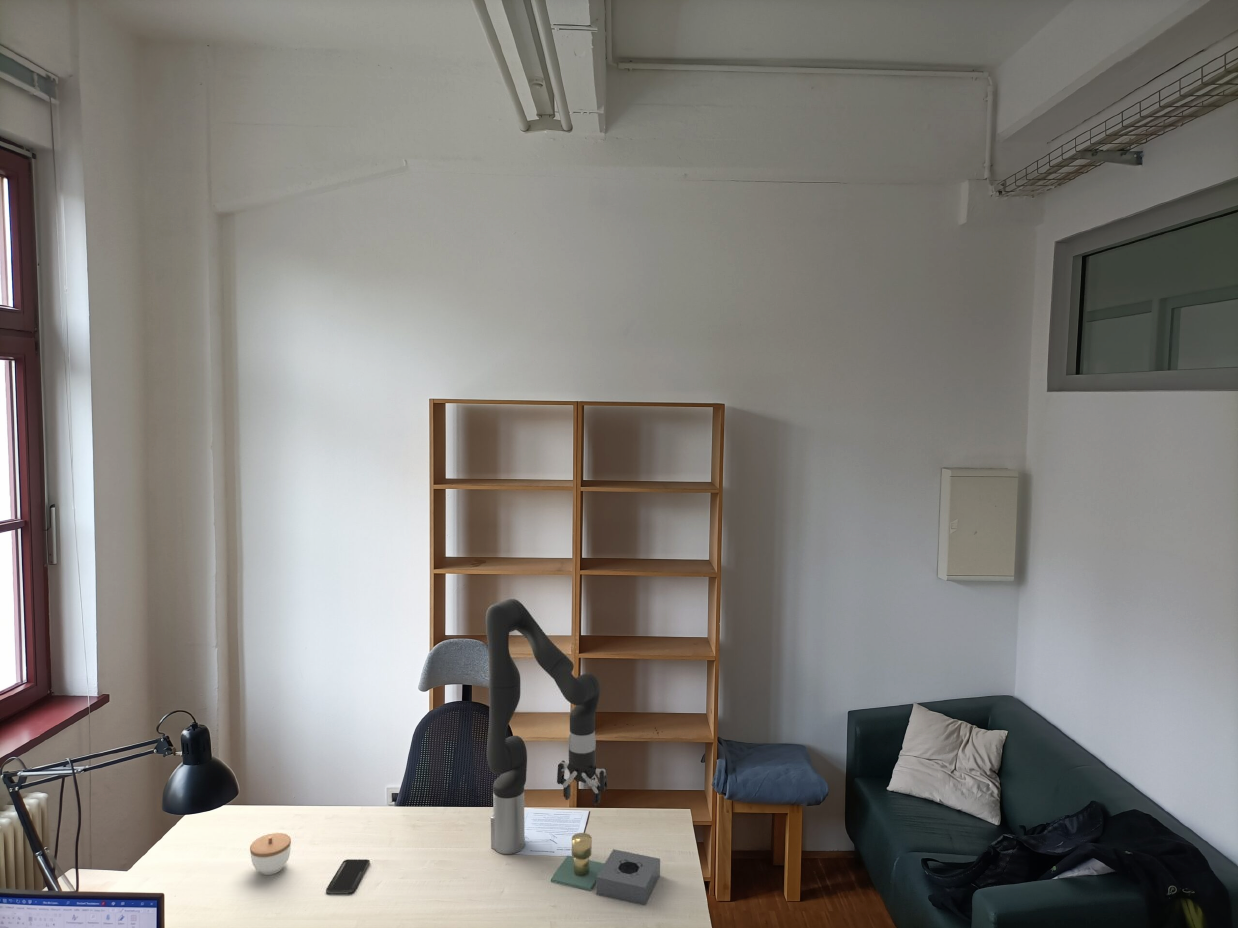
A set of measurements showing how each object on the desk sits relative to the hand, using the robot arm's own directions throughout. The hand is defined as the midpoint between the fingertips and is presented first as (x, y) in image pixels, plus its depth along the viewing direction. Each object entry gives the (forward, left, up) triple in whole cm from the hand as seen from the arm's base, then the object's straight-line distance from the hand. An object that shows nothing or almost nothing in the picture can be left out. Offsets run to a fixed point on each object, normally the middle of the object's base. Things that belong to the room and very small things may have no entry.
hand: (581, 801), depth 223 cm
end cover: (0, 0, -21) cm, 21 cm away
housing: (+14, 0, -22) cm, 26 cm away
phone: (-61, -23, -22) cm, 69 cm away
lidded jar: (-85, -27, -22) cm, 92 cm away
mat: (-1, 0, -22) cm, 22 cm away
